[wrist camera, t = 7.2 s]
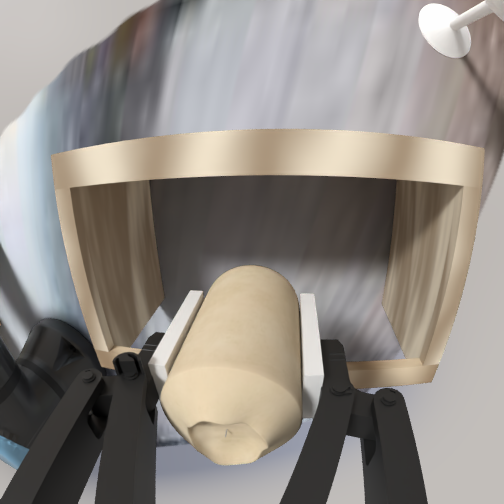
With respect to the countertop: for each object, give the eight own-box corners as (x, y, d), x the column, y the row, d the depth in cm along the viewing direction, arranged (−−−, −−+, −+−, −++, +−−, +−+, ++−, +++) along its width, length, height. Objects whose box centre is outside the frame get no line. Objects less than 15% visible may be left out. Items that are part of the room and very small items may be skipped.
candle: (197, 270, 18) (122, 394, 9) (291, 256, 17) (293, 393, 8) (220, 345, 20) (179, 475, 11) (304, 336, 19) (308, 477, 10)
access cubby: (153, 297, 36) (101, 366, 24) (133, 142, 29) (51, 154, 17) (393, 303, 32) (431, 382, 20) (411, 139, 26) (484, 148, 14)
